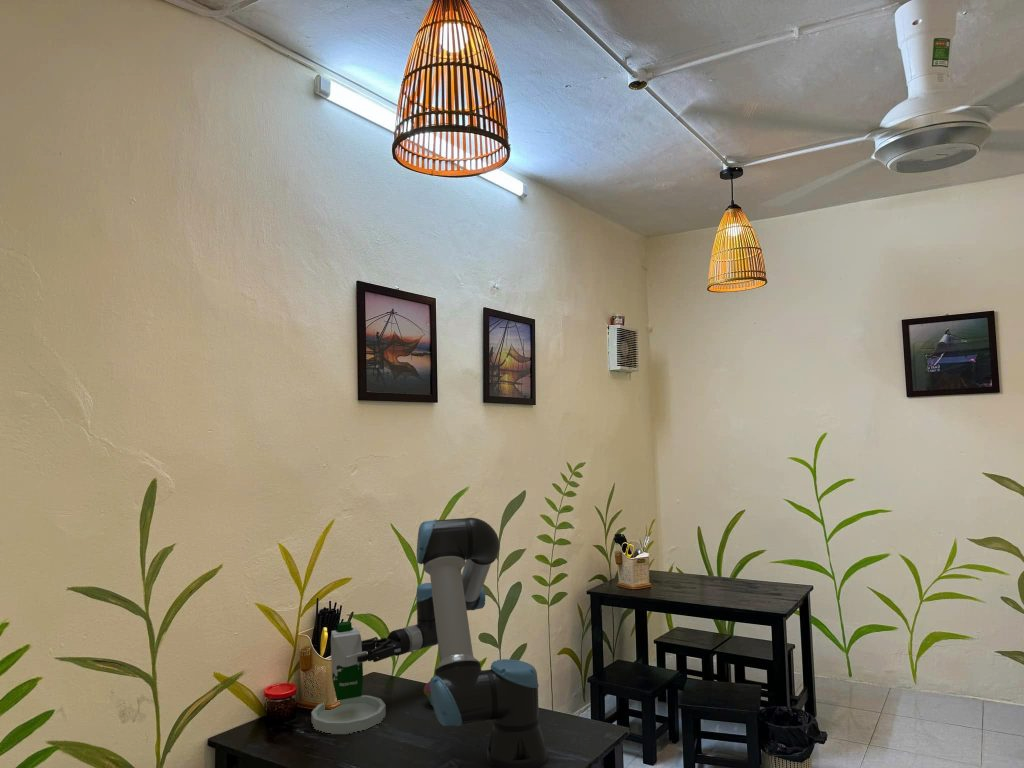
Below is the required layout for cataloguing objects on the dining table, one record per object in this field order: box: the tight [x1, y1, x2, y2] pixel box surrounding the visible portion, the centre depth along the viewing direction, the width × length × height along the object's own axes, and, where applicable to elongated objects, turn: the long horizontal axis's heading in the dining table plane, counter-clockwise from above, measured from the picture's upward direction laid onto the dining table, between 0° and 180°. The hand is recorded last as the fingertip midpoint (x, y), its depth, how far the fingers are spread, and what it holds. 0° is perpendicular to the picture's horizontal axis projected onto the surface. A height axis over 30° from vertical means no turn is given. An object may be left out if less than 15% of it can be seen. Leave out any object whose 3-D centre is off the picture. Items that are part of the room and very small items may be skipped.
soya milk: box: [330, 621, 364, 701], centre depth 208 cm, size 9×9×20 cm
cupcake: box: [423, 680, 433, 707], centre depth 216 cm, size 9×8×12 cm
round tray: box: [310, 694, 387, 735], centre depth 207 cm, size 20×20×3 cm
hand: (339, 658), depth 206 cm, fingers closed on soya milk, 7 cm apart
